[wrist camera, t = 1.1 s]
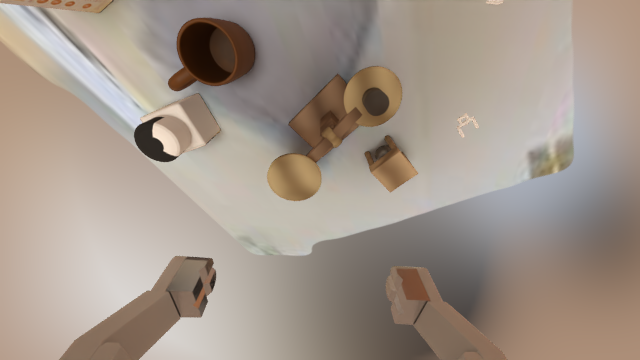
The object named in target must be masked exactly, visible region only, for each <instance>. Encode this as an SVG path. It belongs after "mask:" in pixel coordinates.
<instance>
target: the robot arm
mask: <svg viewBox="0 0 640 360" xmlns="http://www.w3.org/2000/svg"><path fill="white" fill-rule="evenodd" d="M213 264H214V263H213V259H212V258H200V257H185V256H175V257H174V258H173V259H172V260H171V261H170V263H169V264H168V266H167V267H166V269H165V270H164V272H163V273H162V275H161V276H160V278H159V279H158V281H157V282H156V284H155V285H154V287H153V288H152V290H151V291H146V292H145V293H143V294H142V295H140V296H139V297H138V298H136V299H134V300H133V301H131V302H130V303H129V304H127V305H126V306H124V307H123V308H121V309H120V310H119V311H117V312H116V313H114V314H112V315H111V316H110V317H108V318H107V319H105V320H104V321H102V322H101V323H99V324H98V325H97V326H95V327H94V328H92V329H91V330H89V331H88V332H86V333H85V334H84V335H82V336H80V337H79V338H78V339H76V340H75V341H74V342H73V343H72V344H71V346H70V347H69V348H68V350H67V351H66V352H65V353H64V354H63V356H62V357H61V358H60V359H59V360H139V359H140V358H141V357H142V356H143V355H144V354H145V352H147V351H148V350H149V349H150V348H151V347H152V346H153V345H154V344H155V343H156V342H157V341H158V340H159V339H160V338H161V337H162V336H163V335H164V334H165V333H166V332H167V331H168V330H169V329H170V328H171V327H172V326H173V325H174V324H175V323H176V322H177V321H178V320H179V319H180V317H202V314H203V312H204V310H205V307H206V305H207V302H208V300H207V297H206V296H207V295H209V294H210V293H211V292H212V291H213V288H214V285H215V281H216V271H215V269H214V268H212V266H213ZM390 273H391V275H390V276H389V277H388V278H387V281H386V293H387V297H388V299H389V300H390V301H391V302H392V303H393V304H392V306H391V311H392V315H393V319H394V322H395V323H396V324H411V325H414V327H415V328H416V329H417V331H418V332H419V333H420V334H421V336H422V337H423V338H424V339H425V341H426V342H427V343H428V344H429V346H430V347H431V348H432V350H433V351H434V352H435V353H436V355H437V356H438V357H439V358H440V359H441V360H507V359H506V357H505V355H504V354H503V352H502V351H501V350H500V349H499V348H498V347H496V346H495V345H494V344H493V343H492V342H490V340H489V339H488V338H486V337H485V336H484V335H483V334H482V333H481V332H480V331H478V330H477V329H476V328H475V327H474V326H473V325H472V324H471V323H469V322H468V321H467V320H466V319H465V318H464V317H463V316H462V315H460V314H459V313H458V312H457V311H456V310H455V309H454V308H453V307H451V306H450V305H449V304H448V303H447V302H443V301H442V299H441V297H440V294H439V292H438V290H437V288H436V286H435V284H434V282H433V280H432V278H431V276H430V274H429V272H428V270H427V269H426V268H423V267H421V268H420V267H403V266H402V267H401V266H393V267H392V268H391V270H390Z"/></svg>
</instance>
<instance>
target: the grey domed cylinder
mask: <svg viewBox="0 0 640 360" xmlns="http://www.w3.org/2000/svg"><path fill="white" fill-rule="evenodd" d="M389 151H391V148H390V147H389V146H381V147H379V148H378V149H377V150H376V153H375V157H376V159H377V160H379V159H380V158H381V157H383V156H384V155H385V154H387V153H388V152H389Z"/></svg>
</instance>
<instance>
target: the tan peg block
mask: <svg viewBox="0 0 640 360" xmlns="http://www.w3.org/2000/svg"><path fill="white" fill-rule="evenodd" d="M385 140H386V142H387V143H388V145H389V147H390V148H391V151H389V152H388V153H387V154H385V155H384V156H383V157H381V158H380V159H379V160H377V161H376V162H375V163H374V161H373V159H372V157H371V154H370V152H369V151H367V152H365V156H366V158H367V161H368V164H369V168H370V171H371V173H372V174H373V175H374V176H375V177H376V178H377V179H378V180H379V181H380V182H381V183H382V184H383V185H384V186H385V187H386V189H387V190H388V191H389V192H392V191H393V190H394V189H396V188H397V187H399V186H400V185H402V184H403V183H405V182H406V181H408V180H409V179H411V178H412V177H414V176H415V175H417V174H418V172H417V171H416V170H415V168H414V167H413V166H412V164H411V163H410V161H409V160H408V159H407V157H406V156H405V154H404V153H403V152H401V151H400V150H399V149H398V148H397V146H396V145H395V143H394V142H393V141H392V139H391V138H390V136H388V135H387V136H385Z"/></svg>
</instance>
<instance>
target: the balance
mask: <svg viewBox="0 0 640 360" xmlns="http://www.w3.org/2000/svg"><path fill="white" fill-rule="evenodd" d="M401 100H402V87H401V83H400V81H399V79H398V77H397V76H396V75H395V74H394V73H393V72H392V71H390V70H388V69H386V68H384V67H379V66H372V67H368V68H365V69H363V70H361V71H359V72H358V73H356V74H355V75H354V76H353V77H352V78H351V80H350V81H349V83H348V84H346V83H345V81H344V80H343V79H342V78H341V77H340V75H339V74H337V75H336V76H335V77H334V78H333V79H332V80H331V81H330V82H329V83H328V84H327V85H326V86H325V87H324V88H323V89H322V90H321V91H320V92H319V93H318V94H317V95H316V96H315V97H314V98H313V99H312V100H311V101H310V102H309V103H308V104H307V105H306V106H305V107H304V108H303V109H302V110H301V111H300V112H299V113H298V114H297V115H296V116H295V117H294V118H293V119H292V120H291V121H290V122H289V124H288V125H289V126H290V127H291V128H292V129H293V130H295V131H296V132H297V133H298V134H299V135H300V136H301V137H302V138H303V139H304V140H305V141H306V142H307V143H308V144H309V145H310V146H311V147H312V148H313V149H312V150H311V151H310V152H309V153H308V154H307V155H306V156H305V155H302V154H296V153H290V154H285V155H282V156H280V157H278V158H277V159H275V160H274V161H273V162H272V164H271V165H270V168H269V170H268V174H267V179H268V183H269V186H270V188H271V189H272V190H273V191H274V193H276V194H277V195H278V196H280V197H282V198H284V199H287V200H291V201H301V200H305V199H308V198H310V197H311V196H313V195H314V194H315V193H316V192H317V191H318V189H319V188H320V185H321V171H320V169H319V167H318V165H317V164H316V162H317V161H318V160H319V159H320V158H321V157H323V156H324V155H325V154H327V153H328V152H329V151H330V150H331V149H332V148H336V147H338V146H339V145H340V144H341V143H342V140H343V139H344V138H345V137H347V136H348V135H349V134H350V133H351V132H352V131H354V130H355V129H356V128H357V127H358V126H359V125H362V126H366V127H373V126H378V125H381V124H383V123H385V122H386V121H388V120H389V119H390V118H391V117H392V116H393V115H394V114H395V113H396V111H397V110H398V108H399V106H400V103H401Z"/></svg>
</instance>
